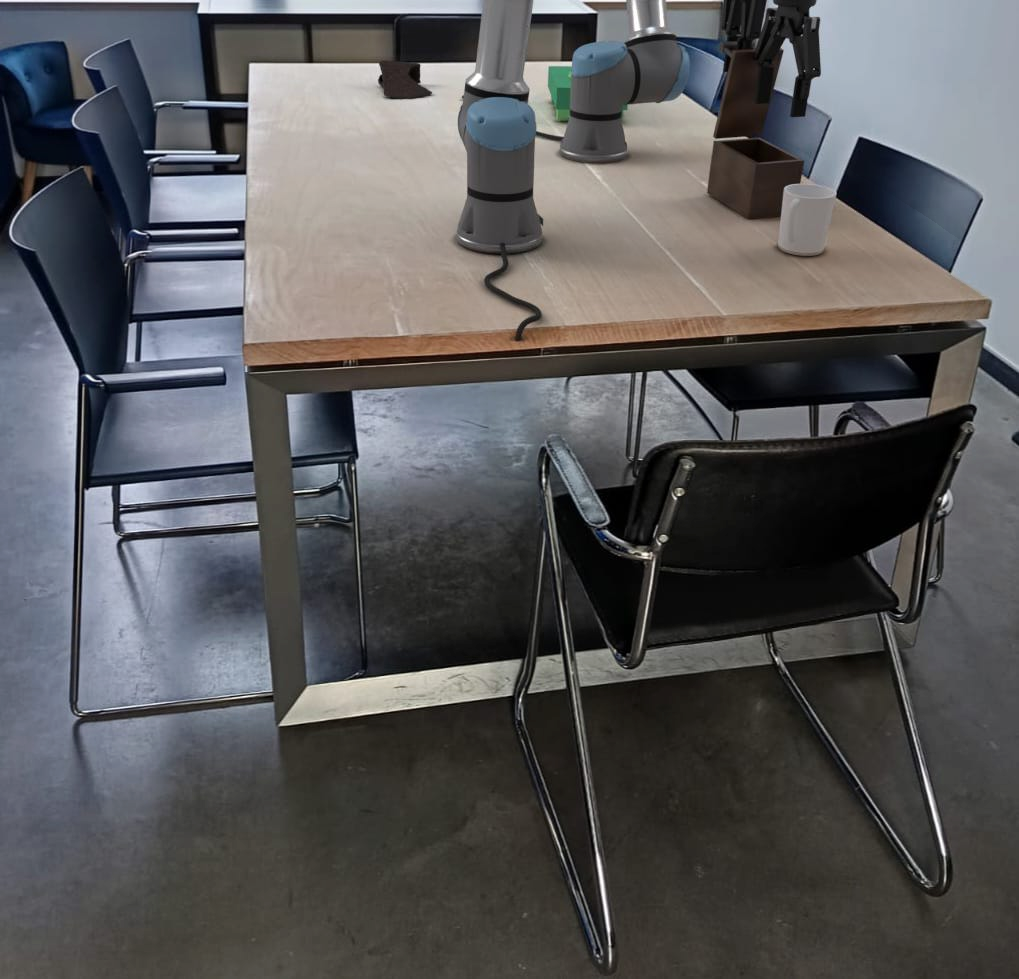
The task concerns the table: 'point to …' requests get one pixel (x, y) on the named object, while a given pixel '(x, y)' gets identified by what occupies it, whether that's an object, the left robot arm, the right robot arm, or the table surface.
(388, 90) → the axe head
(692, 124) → the table surface
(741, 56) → the lid
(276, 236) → the table surface
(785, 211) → the mug
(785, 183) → the chest
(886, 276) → the table surface
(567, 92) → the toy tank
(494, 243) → the left robot arm
